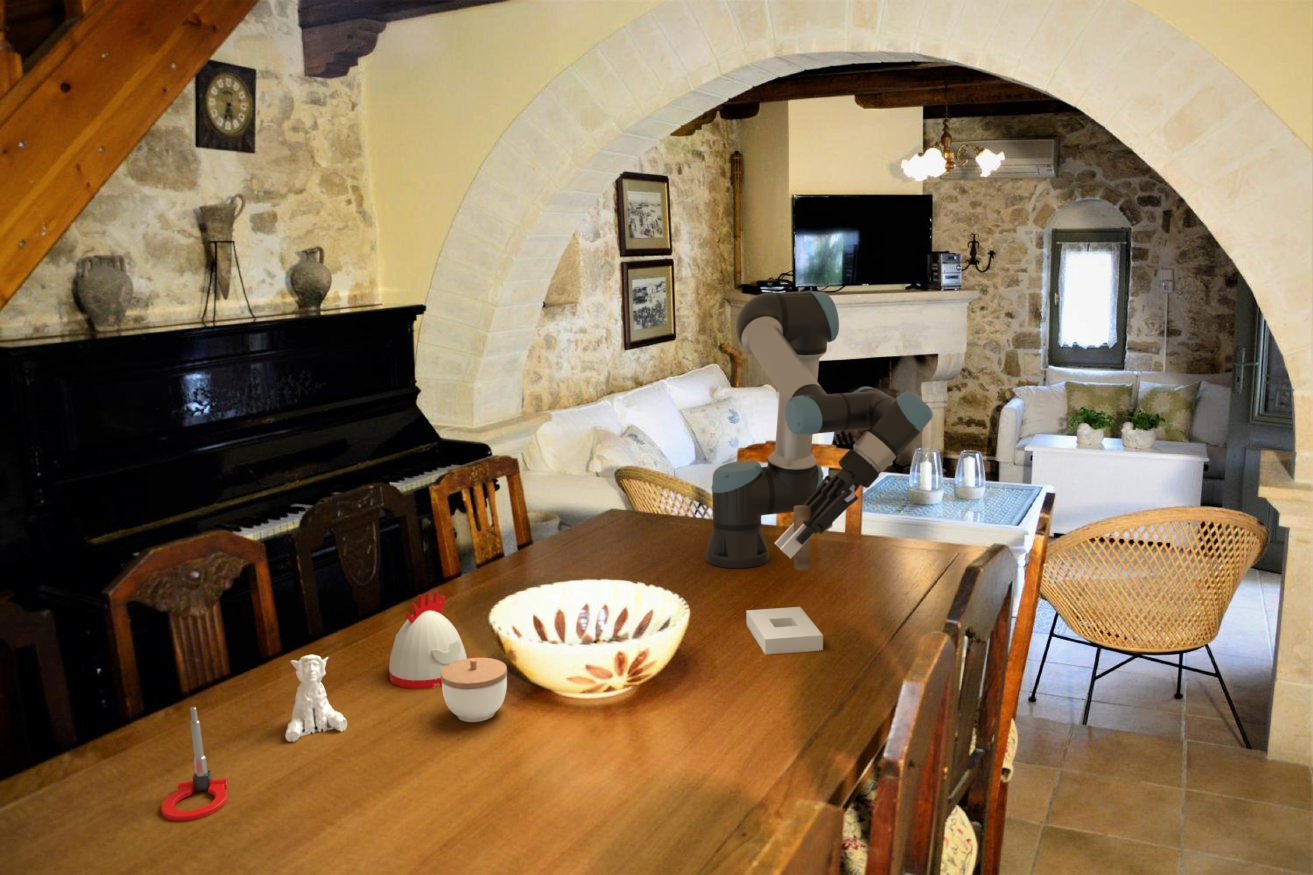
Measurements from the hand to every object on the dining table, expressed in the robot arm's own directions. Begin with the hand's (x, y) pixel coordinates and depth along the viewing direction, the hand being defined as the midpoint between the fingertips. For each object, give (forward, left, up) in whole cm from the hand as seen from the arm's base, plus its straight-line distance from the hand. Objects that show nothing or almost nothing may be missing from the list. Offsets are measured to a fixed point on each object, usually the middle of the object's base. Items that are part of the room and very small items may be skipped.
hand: (782, 550), depth 203 cm
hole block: (+1, 0, -17) cm, 17 cm away
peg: (0, +4, -4) cm, 5 cm away
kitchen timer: (+6, -67, -17) cm, 69 cm away
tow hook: (+47, -96, -18) cm, 108 cm away
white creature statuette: (+25, -84, -17) cm, 89 cm away
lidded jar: (+25, -58, -17) cm, 65 cm away
